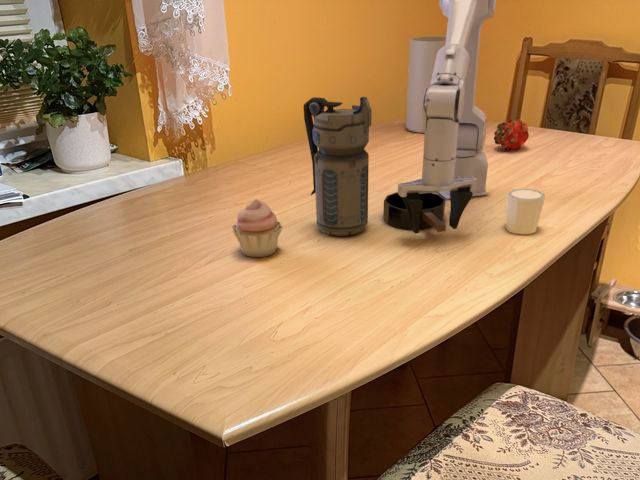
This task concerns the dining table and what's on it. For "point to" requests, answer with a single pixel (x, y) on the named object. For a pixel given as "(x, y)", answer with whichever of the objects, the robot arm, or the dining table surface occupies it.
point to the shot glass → (523, 210)
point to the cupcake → (257, 230)
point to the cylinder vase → (420, 77)
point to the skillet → (429, 214)
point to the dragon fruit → (511, 134)
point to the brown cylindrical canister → (339, 164)
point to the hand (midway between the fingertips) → (434, 229)
